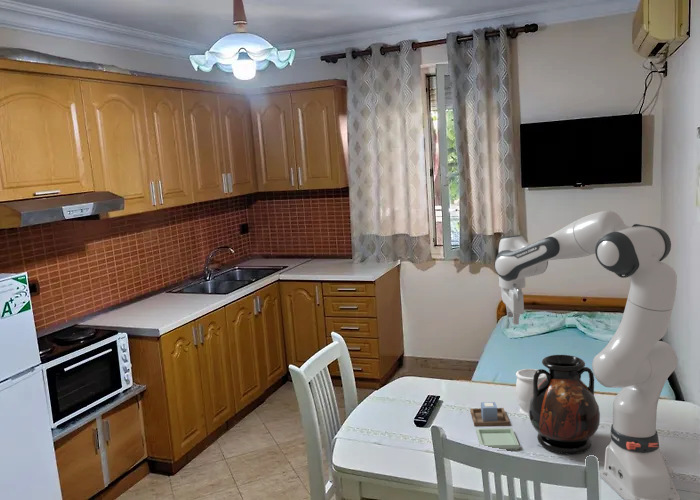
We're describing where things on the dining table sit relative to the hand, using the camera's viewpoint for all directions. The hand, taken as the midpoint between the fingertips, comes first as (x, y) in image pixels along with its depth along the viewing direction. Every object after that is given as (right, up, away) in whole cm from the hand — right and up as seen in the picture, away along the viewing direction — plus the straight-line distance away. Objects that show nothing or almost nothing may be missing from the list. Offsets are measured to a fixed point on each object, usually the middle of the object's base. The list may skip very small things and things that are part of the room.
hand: (512, 320), depth 204 cm
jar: (+9, -35, +9) cm, 37 cm away
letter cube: (-7, -36, +5) cm, 37 cm away
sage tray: (-8, -39, -12) cm, 41 cm away
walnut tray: (-7, -36, +5) cm, 37 cm away
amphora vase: (+12, -38, -16) cm, 43 cm away
